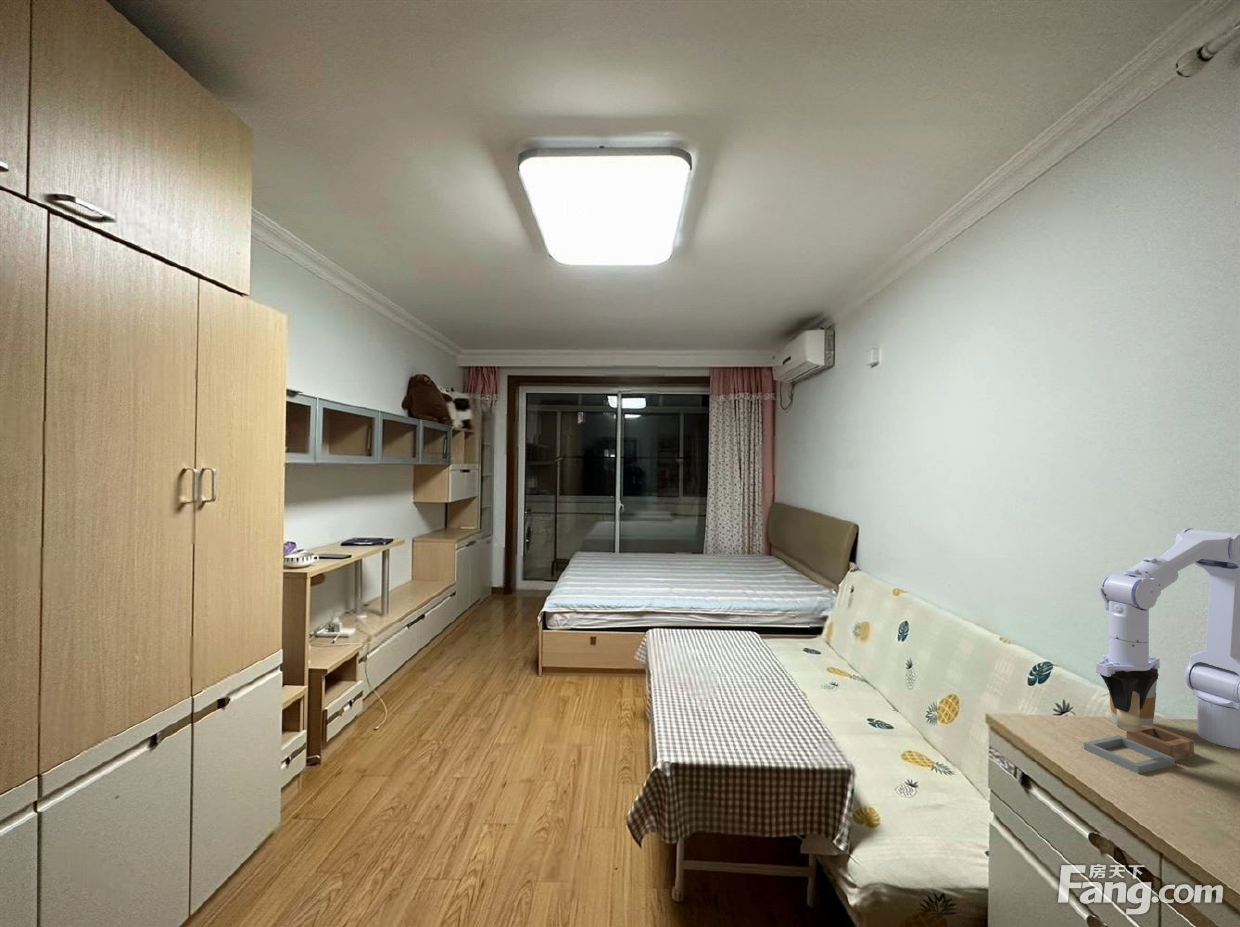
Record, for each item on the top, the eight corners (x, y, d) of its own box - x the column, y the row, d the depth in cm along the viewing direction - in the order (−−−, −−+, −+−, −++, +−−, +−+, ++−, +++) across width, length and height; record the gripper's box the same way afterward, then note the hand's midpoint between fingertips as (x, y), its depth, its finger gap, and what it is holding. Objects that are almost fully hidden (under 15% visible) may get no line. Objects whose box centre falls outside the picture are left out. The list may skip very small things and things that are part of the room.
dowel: (1124, 723, 108) (1124, 688, 108) (1143, 731, 105) (1143, 694, 105) (1112, 725, 107) (1112, 690, 107) (1132, 733, 104) (1132, 696, 104)
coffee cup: (1169, 740, 115) (1169, 668, 115) (1122, 736, 116) (1122, 665, 116) (1140, 721, 123) (1140, 654, 123) (1097, 718, 124) (1097, 651, 124)
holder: (1150, 743, 113) (1150, 724, 113) (1193, 761, 106) (1193, 740, 106) (1126, 748, 111) (1126, 729, 111) (1169, 767, 104) (1169, 746, 104)
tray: (1119, 746, 112) (1119, 735, 112) (1174, 770, 103) (1174, 758, 103) (1084, 754, 109) (1084, 742, 109) (1138, 779, 100) (1138, 766, 100)
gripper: (1129, 628, 112) (1129, 695, 112) (1078, 635, 108) (1078, 704, 108) (1173, 639, 105) (1173, 710, 105) (1120, 646, 101) (1120, 720, 101)
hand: (1128, 708), depth 106 cm, fingers closed on dowel, 3 cm apart
